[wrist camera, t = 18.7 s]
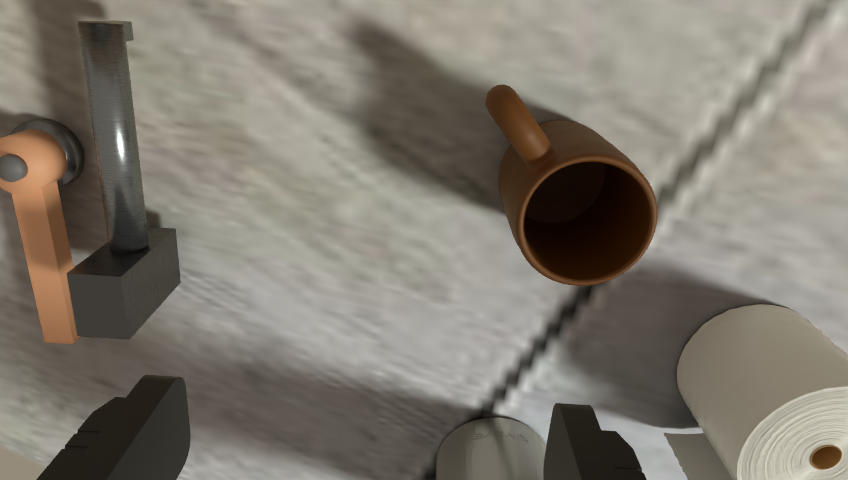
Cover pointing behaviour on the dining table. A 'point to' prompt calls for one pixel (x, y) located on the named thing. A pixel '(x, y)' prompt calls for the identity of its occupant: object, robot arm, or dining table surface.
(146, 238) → the dark grey hammer
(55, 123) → the dark grey puck
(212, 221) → the dining table surface
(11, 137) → the latch bar
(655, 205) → the mug
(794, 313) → the toilet tissue
